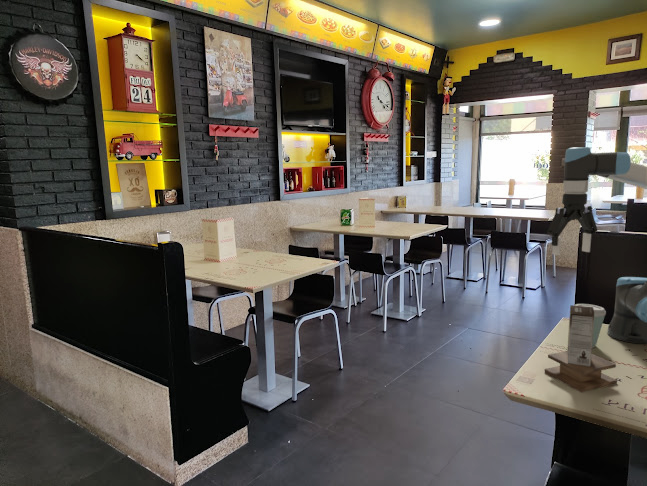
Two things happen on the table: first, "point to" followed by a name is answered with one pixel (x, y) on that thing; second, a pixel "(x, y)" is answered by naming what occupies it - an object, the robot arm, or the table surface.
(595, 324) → the disposable coffee cup
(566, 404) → the table surface
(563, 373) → the pedestal
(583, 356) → the coffee box
